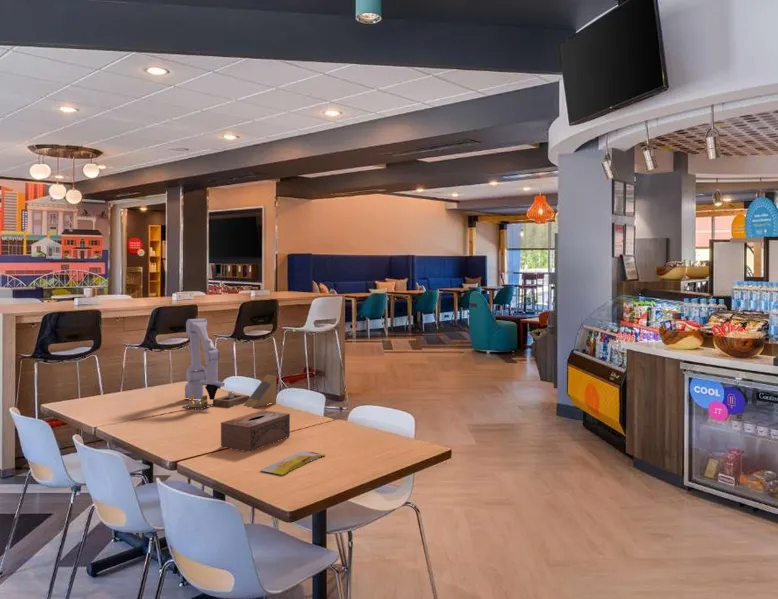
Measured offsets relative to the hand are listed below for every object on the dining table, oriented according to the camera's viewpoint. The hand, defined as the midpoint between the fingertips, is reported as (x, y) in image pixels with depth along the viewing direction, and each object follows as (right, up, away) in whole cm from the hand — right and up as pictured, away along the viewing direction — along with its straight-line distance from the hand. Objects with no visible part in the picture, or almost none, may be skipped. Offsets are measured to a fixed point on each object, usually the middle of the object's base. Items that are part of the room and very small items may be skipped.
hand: (212, 399), depth 320 cm
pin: (+8, -3, +7) cm, 12 cm away
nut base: (-7, -4, -1) cm, 8 cm away
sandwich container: (+24, -4, +4) cm, 24 cm away
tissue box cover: (+37, -7, -66) cm, 76 cm away
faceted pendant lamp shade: (-6, -3, -1) cm, 7 cm away
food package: (+57, -9, -94) cm, 111 cm away
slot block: (+8, -3, +8) cm, 12 cm away
